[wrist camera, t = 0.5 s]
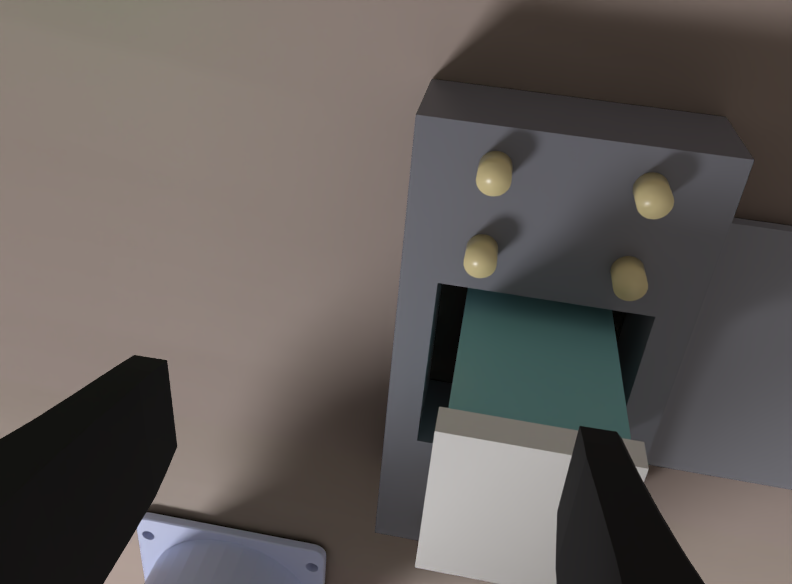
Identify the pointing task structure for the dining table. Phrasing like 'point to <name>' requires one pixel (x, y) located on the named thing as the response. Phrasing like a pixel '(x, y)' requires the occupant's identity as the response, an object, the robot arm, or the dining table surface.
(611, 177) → the box
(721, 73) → the dining table surface
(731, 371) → the pad
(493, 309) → the plug
